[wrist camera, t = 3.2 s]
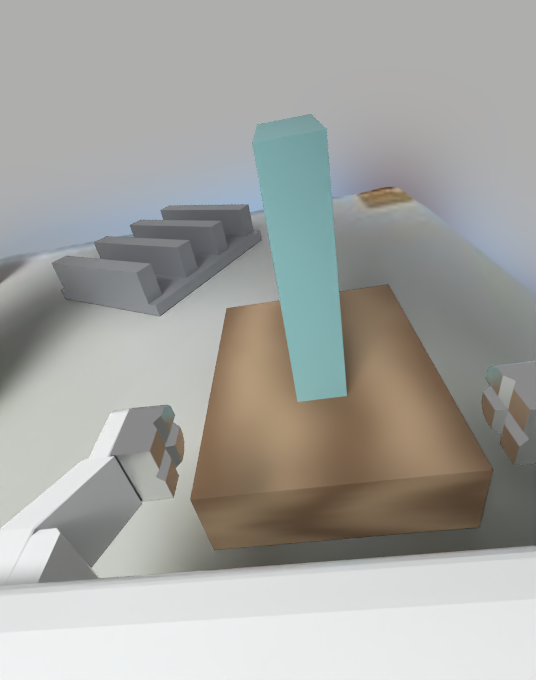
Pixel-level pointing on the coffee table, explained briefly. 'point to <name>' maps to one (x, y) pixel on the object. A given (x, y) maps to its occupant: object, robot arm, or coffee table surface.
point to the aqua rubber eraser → (303, 250)
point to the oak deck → (333, 436)
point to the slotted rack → (159, 258)
